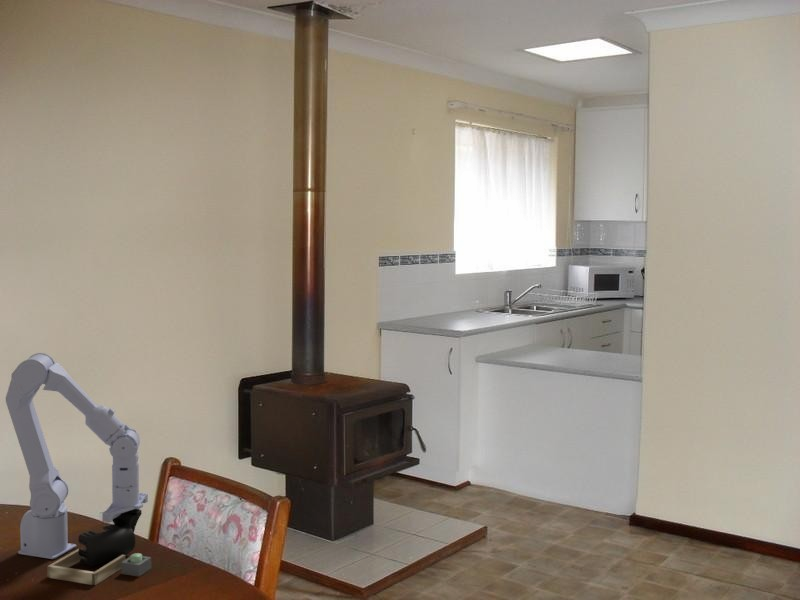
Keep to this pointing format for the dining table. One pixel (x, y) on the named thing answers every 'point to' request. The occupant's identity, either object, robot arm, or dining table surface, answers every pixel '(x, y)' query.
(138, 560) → the button
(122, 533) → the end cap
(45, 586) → the dining table surface
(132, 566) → the button housing
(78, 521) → the dining table surface
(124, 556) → the cream square frame
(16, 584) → the dining table surface
